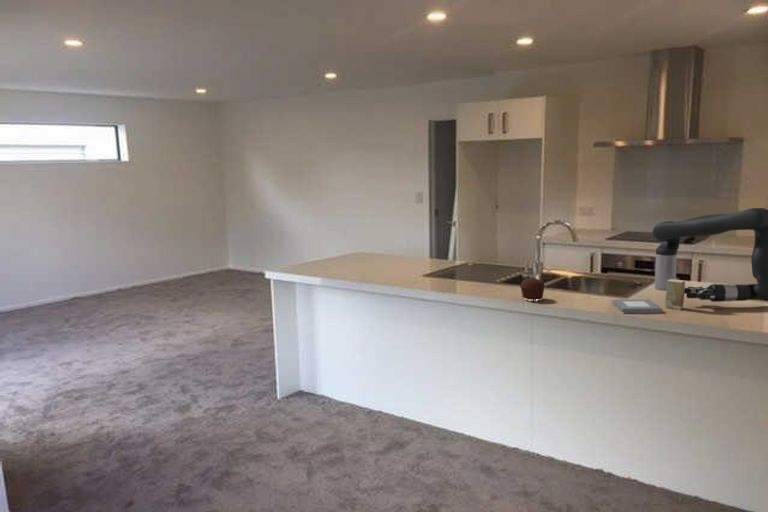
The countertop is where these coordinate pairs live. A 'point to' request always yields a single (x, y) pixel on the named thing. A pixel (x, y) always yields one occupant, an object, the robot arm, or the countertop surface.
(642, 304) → the plate
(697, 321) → the countertop surface
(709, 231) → the robot arm
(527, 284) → the muffin
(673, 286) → the skincare box
